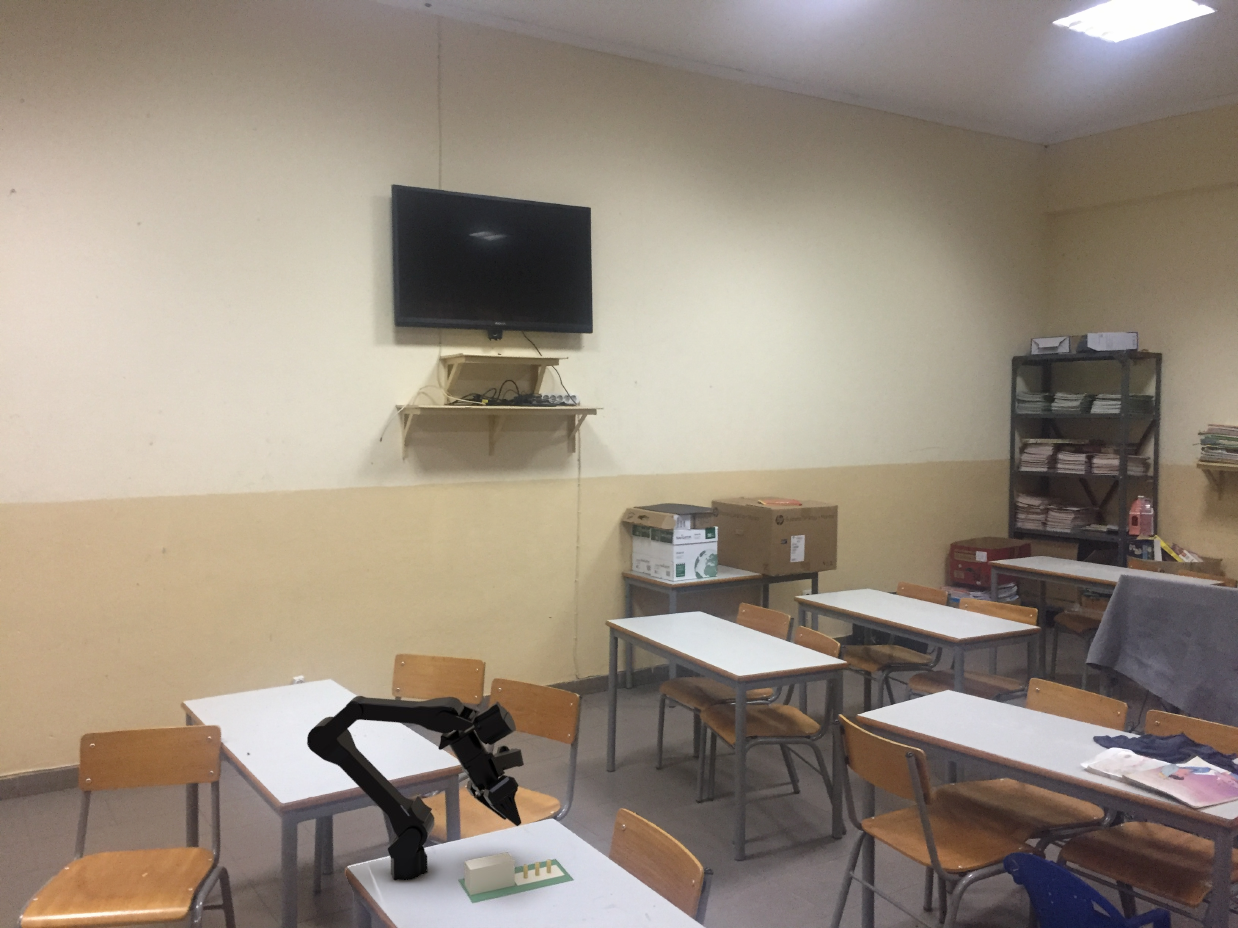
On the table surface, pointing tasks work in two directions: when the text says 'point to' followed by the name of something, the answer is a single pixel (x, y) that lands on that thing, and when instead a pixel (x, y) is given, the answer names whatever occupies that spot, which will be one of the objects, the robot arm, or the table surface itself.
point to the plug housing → (489, 873)
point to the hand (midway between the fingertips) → (512, 821)
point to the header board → (526, 880)
